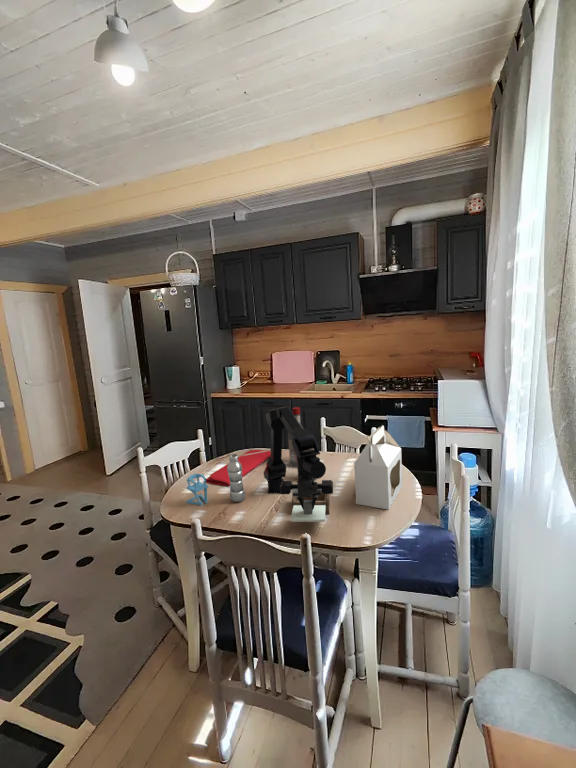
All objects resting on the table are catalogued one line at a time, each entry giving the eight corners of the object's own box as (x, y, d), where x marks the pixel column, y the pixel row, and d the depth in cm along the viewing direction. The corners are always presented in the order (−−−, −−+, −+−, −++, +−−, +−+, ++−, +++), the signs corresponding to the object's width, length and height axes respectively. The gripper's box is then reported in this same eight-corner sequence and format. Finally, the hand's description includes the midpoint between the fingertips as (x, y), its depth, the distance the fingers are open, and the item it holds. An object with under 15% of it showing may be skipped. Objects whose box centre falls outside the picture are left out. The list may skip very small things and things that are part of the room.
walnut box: (292, 514, 147) (291, 499, 146) (295, 500, 157) (294, 486, 156) (329, 514, 145) (328, 499, 144) (329, 500, 156) (328, 486, 155)
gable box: (372, 481, 170) (370, 421, 165) (402, 486, 164) (400, 423, 159) (355, 504, 151) (352, 436, 146) (388, 510, 145) (386, 440, 140)
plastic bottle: (233, 505, 157) (228, 459, 154) (228, 499, 163) (223, 455, 160) (248, 501, 160) (243, 456, 157) (242, 495, 166) (238, 451, 163)
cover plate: (290, 521, 133) (289, 509, 132) (293, 507, 143) (292, 495, 142) (324, 521, 132) (324, 508, 131) (325, 507, 141) (324, 495, 141)
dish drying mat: (203, 483, 183) (202, 476, 183) (250, 454, 219) (249, 448, 218) (230, 488, 176) (229, 480, 175) (274, 457, 211) (273, 450, 211)
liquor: (301, 468, 190) (297, 411, 185) (287, 465, 196) (283, 409, 191) (312, 462, 197) (308, 406, 192) (298, 459, 203) (294, 405, 198)
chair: (197, 508, 158) (194, 481, 156) (185, 502, 163) (182, 476, 161) (212, 500, 163) (209, 474, 161) (200, 495, 169) (197, 470, 167)
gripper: (275, 478, 128) (279, 521, 130) (331, 477, 125) (334, 521, 128) (280, 465, 139) (283, 505, 141) (332, 464, 136) (334, 504, 139)
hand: (308, 509), depth 137 cm, fingers closed on cover plate, 3 cm apart
